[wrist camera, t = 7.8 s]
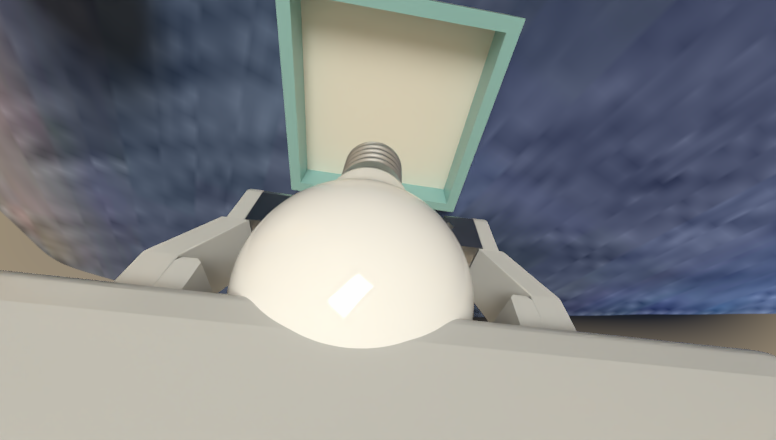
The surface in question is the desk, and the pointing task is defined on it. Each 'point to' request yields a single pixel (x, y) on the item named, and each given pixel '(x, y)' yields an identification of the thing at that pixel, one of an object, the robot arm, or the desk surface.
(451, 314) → the lightbulb
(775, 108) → the desk surface
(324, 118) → the dish
